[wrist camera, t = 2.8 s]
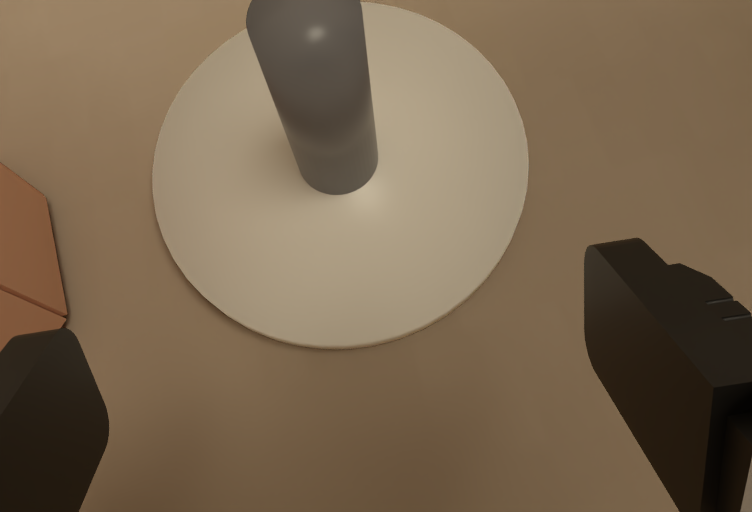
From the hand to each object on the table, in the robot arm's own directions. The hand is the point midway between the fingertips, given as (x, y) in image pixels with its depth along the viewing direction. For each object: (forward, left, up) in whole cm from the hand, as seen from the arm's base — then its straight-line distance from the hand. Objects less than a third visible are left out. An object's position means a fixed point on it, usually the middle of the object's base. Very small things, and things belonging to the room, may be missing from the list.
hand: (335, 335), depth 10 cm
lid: (-8, -5, -13) cm, 16 cm away
